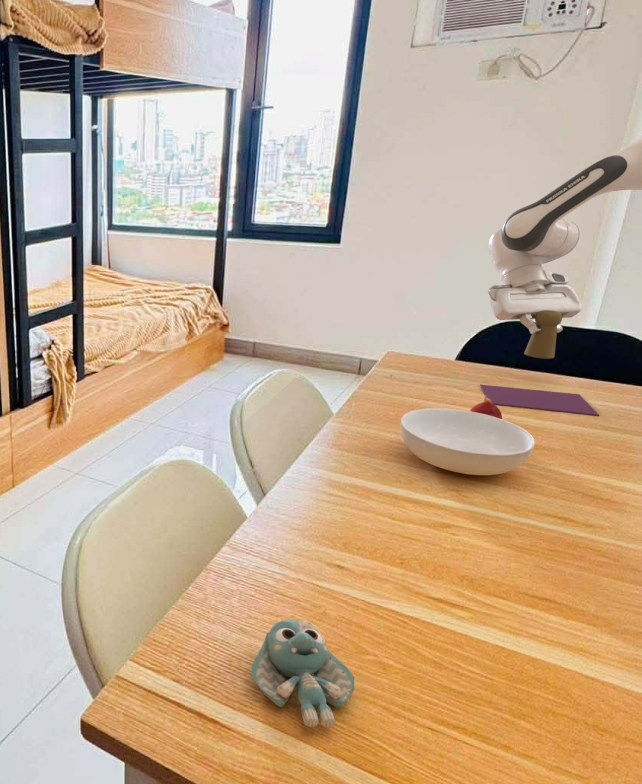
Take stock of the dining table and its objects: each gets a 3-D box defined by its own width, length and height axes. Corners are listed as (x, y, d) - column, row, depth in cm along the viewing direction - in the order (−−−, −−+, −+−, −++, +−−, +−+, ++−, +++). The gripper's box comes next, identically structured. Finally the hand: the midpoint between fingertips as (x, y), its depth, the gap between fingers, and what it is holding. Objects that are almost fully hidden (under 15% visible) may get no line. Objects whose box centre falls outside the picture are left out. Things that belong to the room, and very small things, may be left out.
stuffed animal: (271, 698, 59) (244, 597, 69) (260, 741, 63) (236, 640, 73) (387, 701, 59) (342, 599, 69) (370, 744, 62) (330, 641, 73)
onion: (496, 432, 129) (505, 396, 126) (498, 443, 124) (507, 405, 121) (463, 427, 132) (471, 391, 129) (464, 437, 127) (472, 400, 124)
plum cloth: (578, 395, 148) (579, 394, 148) (598, 415, 136) (599, 414, 136) (479, 385, 156) (479, 384, 156) (490, 404, 144) (490, 402, 144)
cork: (528, 350, 158) (539, 307, 154) (557, 355, 153) (569, 311, 150) (520, 354, 154) (531, 311, 150) (550, 360, 150) (562, 315, 146)
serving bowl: (370, 453, 121) (376, 420, 118) (438, 432, 130) (445, 401, 127) (481, 500, 103) (490, 463, 101) (551, 472, 112) (561, 437, 110)
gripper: (494, 278, 154) (515, 326, 148) (573, 275, 155) (597, 323, 149) (477, 292, 159) (497, 340, 154) (554, 290, 160) (576, 337, 155)
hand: (547, 332), depth 151 cm, fingers closed on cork, 4 cm apart
